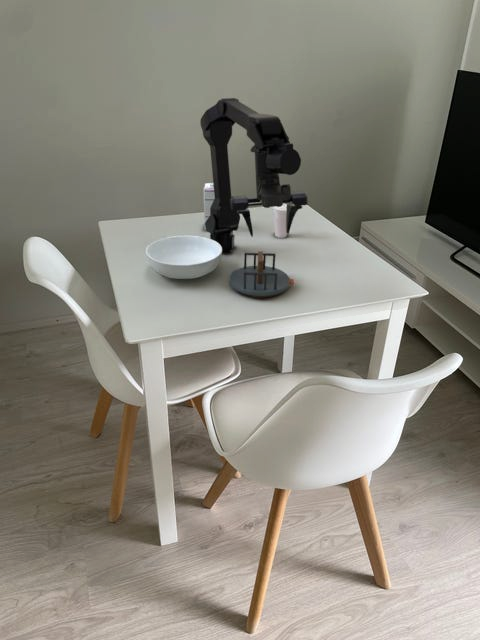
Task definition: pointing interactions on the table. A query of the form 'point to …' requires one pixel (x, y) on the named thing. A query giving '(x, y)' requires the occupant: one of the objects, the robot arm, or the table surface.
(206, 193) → the syrup box
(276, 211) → the smoothie
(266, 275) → the drying rack
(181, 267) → the serving bowl
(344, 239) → the table surface
